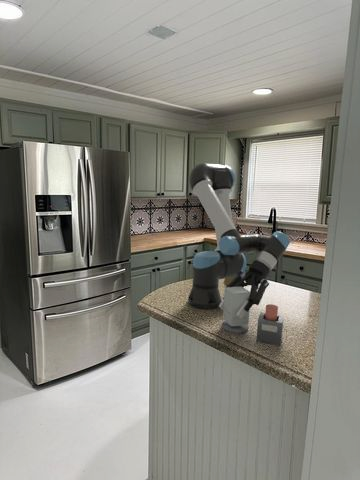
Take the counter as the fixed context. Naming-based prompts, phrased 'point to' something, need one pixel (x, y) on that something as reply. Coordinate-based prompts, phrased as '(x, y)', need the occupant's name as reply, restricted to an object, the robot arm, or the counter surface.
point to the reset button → (271, 312)
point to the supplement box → (235, 305)
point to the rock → (229, 280)
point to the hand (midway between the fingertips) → (229, 312)
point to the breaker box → (270, 329)
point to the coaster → (235, 328)
